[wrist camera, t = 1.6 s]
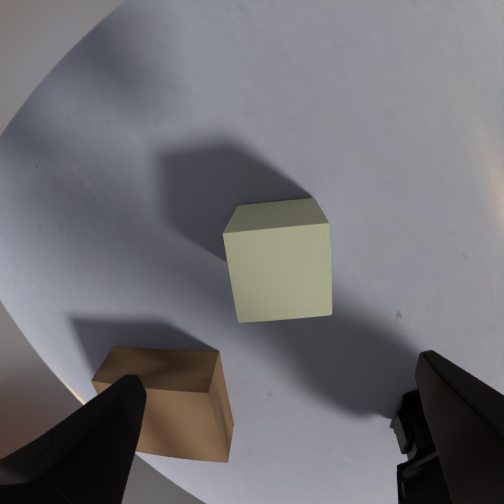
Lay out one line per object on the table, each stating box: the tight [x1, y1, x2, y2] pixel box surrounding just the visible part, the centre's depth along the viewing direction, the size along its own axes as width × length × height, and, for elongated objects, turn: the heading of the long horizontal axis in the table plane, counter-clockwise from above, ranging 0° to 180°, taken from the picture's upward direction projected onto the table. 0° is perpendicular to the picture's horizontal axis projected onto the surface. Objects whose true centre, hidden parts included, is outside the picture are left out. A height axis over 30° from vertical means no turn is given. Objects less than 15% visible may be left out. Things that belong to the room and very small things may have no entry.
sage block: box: [223, 198, 332, 323], centre depth 18 cm, size 5×5×6 cm
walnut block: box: [91, 347, 234, 463], centre depth 25 cm, size 10×10×5 cm
